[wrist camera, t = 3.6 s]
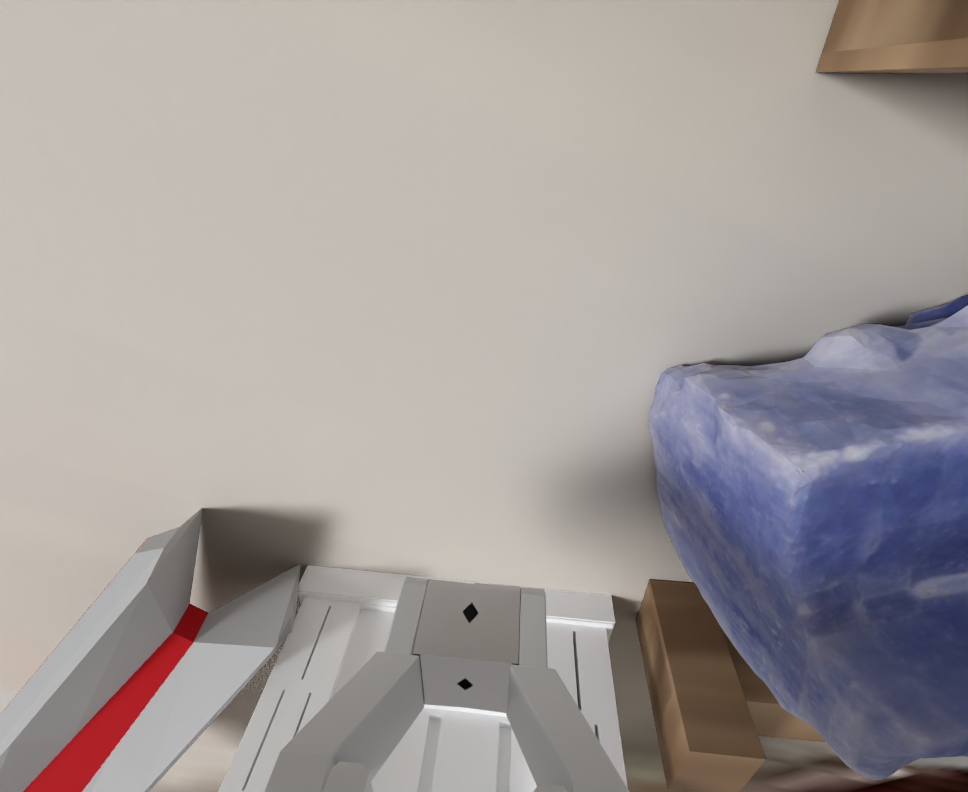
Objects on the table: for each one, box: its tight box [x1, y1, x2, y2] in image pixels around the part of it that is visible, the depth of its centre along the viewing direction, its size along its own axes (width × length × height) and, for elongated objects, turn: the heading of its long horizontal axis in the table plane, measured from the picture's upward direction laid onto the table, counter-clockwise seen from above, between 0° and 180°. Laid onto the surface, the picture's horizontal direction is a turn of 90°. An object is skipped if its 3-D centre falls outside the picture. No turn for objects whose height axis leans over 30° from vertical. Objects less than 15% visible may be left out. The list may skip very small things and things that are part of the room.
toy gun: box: [0, 509, 300, 792], centre depth 25 cm, size 7×28×15 cm, turn 137°
